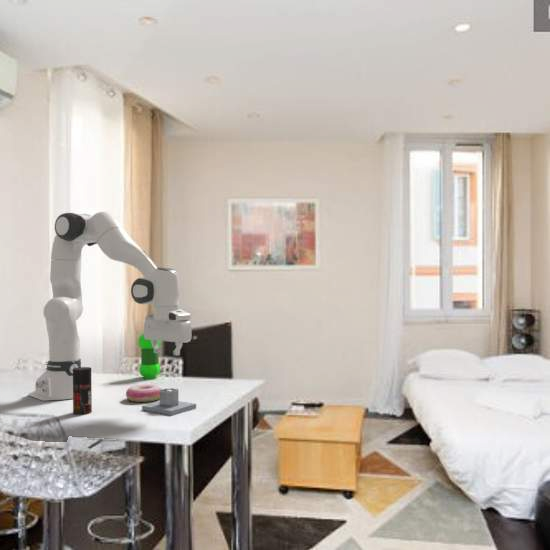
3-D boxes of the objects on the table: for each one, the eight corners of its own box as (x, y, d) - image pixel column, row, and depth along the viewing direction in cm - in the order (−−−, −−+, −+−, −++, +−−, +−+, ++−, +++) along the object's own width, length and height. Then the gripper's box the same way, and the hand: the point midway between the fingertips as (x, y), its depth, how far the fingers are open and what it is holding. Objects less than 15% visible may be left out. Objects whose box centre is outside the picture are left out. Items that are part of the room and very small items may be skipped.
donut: (143, 405, 197) (143, 391, 197) (118, 401, 204) (117, 387, 204) (169, 398, 208) (169, 385, 208) (144, 394, 215) (144, 381, 215)
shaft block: (142, 410, 189) (141, 391, 189) (167, 403, 199) (166, 385, 199) (171, 415, 181) (171, 395, 181) (196, 408, 191) (195, 389, 191)
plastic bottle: (159, 379, 246) (158, 323, 247) (135, 379, 247) (135, 324, 247) (163, 375, 256) (163, 322, 257) (141, 375, 257) (140, 322, 257)
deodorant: (75, 410, 189) (75, 367, 189) (93, 410, 190) (93, 366, 190) (71, 415, 183) (70, 370, 183) (89, 414, 184) (88, 369, 184)
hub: (155, 405, 189) (155, 391, 189) (168, 401, 194) (168, 387, 195) (169, 407, 186) (168, 393, 186) (182, 404, 191) (182, 389, 191)
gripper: (139, 313, 194) (139, 352, 194) (181, 315, 182) (181, 357, 182) (152, 312, 199) (152, 350, 199) (194, 314, 188) (194, 355, 188)
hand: (166, 354), depth 191 cm, fingers open, 8 cm apart
